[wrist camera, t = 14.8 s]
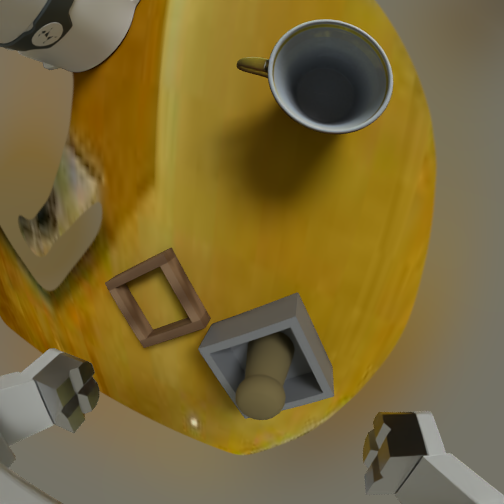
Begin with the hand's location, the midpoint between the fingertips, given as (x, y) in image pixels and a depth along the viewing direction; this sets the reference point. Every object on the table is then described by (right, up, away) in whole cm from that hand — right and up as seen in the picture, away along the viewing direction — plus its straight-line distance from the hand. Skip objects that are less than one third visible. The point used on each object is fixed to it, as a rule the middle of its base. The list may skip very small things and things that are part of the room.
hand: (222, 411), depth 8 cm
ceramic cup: (+7, +21, +23) cm, 32 cm away
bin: (+4, -8, +33) cm, 34 cm away
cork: (+3, -8, +32) cm, 33 cm away
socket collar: (-11, -2, +33) cm, 35 cm away
